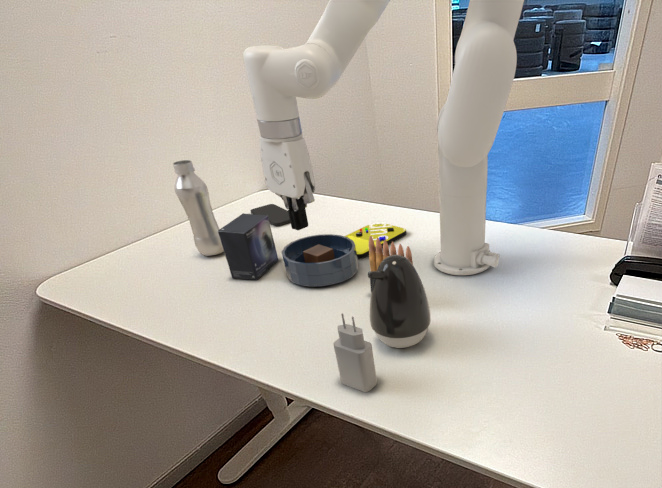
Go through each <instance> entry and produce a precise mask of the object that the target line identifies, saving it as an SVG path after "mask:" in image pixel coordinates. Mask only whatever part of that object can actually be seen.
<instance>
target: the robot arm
mask: <svg viewBox="0 0 662 488" xmlns="http://www.w3.org/2000/svg"><path fill="white" fill-rule="evenodd" d="M390 2H391V0H328V2H327V4H326V6H325V9H324V11H323V13H322V14H321V17H320V18H319V20H318V22H317V24H316V25H315V27H314V29H313V31H312V32H311V34H310V36H309V38H308V39H307V41H306V43H303V44H301V45H298V46H293V47H289V48H284V47H283V46H280V45H273V44H272V45H271V44H270V45H269V44H267V45H266V44H263V45H253V46H248V47H247V48H245V49H244V51H243V54H242V57H243V58H242V59H243V64H244V68H245V73H246V77H247V83H248V86H249V90H250V96H251V99H252V104H253V108H254V112H255V116H256V122H257V126H258V130H259V134H260V135H259V153H260V160H261V161H260V162H261V166H262V172H263V178H264V181H265V186H266V188H267V190H268V191H269V192H271V193H273V194H275V195H276V196H278V198H281V199H282V201H283V204H284V207H285V210H287V211H288V213H289V218H290V222H289V223H290V227H291V229H292V230H295V231H300V230H303V229H306V228H308V227H309V221H308V215H307V209H306V208H307V207H308V204H311V203H314V202H315V200H316V199H315V196H314V193H316V181H315V175H314V170H313V166H312V161H311V156H310V153H309V150H308V147H307V143H306V140H305V138H304V135H303V129H302V124H301V123H302V122H301V118H300V112H299V107H298V101H297V98H302V99H309V100H316V99H320V98H322V97H324V96H325V95H326V94H327V93H329V92H330V91H331V90H332V88H333V87H335V85H336V84H337V83H338V81H339V80H340V78H341V77H342V76H343V73H344V72H345V71H346V69H347V67H348V65H349V64H350V63H351V61H352V59H353V58H354V56H355V55H356V53H357V51H358V50H359V48H360V46H361V45H362V44H363V41H364V40H365V39H366V37H367V36H368V33H370V31H371V30H372V28H374V26H375V25H376V24H377V23H378V21H379V20H380V18H381V16H382V14H383V13H384V11H385V10H386V8H387V6H388V5H389V4H390ZM524 2H525V0H469V3H468V6H467V11H466V14H465V18H464V23H463V26H462V29H461V33H460V37H459V39H458V41H457V43H456V47H455V52H454V62H455V63H454V66H453V67H454V68H453V71H452V76H451V81H450V85H449V88H448V93H447V98H446V101H445V102H444V104H443V105H442V107H441V108H440V110H439V113H438V116H437V122H436V137H437V159H438V195H439V196H438V198H439V199H438V202H439V235H440V236H439V237H440V238H439V239H440V251H439V252H437V254H435V256H434V257H433V265H434V267H435V268H436V269H437V270H438V271H440V272H442V273H445V274H446V275H447V274H448V275H452V276H472V275H477V274H481V273H482V272H484V271H486V270H487V269H489V268H490V267H492V268H497V267H498V266H499V262H500V254H499V253H497V252H493V251H492V252H491V250H490V243H488V242H486V222H487V221H486V219H487V191H488V174H489V173H488V169H489V168H488V167H489V165H488V164H489V162H488V161H489V159H488V158H489V156H488V155H489V153H490V152H491V149H492V148H493V145H494V143H495V140H496V137H497V134H498V130H499V128H500V125H501V122H502V120H503V119H502V118H503V115H504V113H505V109H506V106H507V103H508V100H509V97H510V93H511V90H512V86H513V83H514V79H515V75H516V70H517V65H518V63H517V61H518V55H517V48H516V44H515V41H514V39H515V35H516V32H517V29H518V24H519V23H520V22H519V21H520V19H521V14H522V11H523V6H524Z"/></svg>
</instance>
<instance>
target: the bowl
mask: <svg viewBox="0 0 662 488" xmlns="http://www.w3.org/2000/svg"><path fill="white" fill-rule="evenodd" d="M345 236H346V235H342V234H332V233H323V234H314V235H313V234H312V235H308V236H304V237H300V238H298V239H296V240H294V241H291V242H289V243H288V244H286V246H284V247H283V249H282V250H281V256H282V260H283V264H284V265H283V266H284V268H285V272H286V276H287V279H288V280H289V281H290V282H291V283H293V284H296V285H298V286H304V287H312V288H313V287H326V286H327V287H328V286H333V285H336V284H339V283H342V282H345V281H347V280H348V279H351V278H353V276H355V274H356V273H358V270H359V267H360V265H359V260H358V259H357V252H356V245H355V243H354V241H353V240H351V239H350V238H348V237H345ZM318 244H319V245H322V246H326V247H329V248H332V249H333V251H334V257H335V259H334V260H330V261H325V262H319V263H305V259H304V254H303V251H305V250H307V249H310V248H312V247H314V246H316V245H318Z"/></svg>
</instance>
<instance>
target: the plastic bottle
mask: <svg viewBox="0 0 662 488" xmlns="http://www.w3.org/2000/svg"><path fill="white" fill-rule="evenodd" d="M172 166H173V168H174V173H175V174H176V175H177V177H176V180H175V183H174V192H175V195H176V197H177V198H178V200H179V202H180V204H181V206H182V208H183V210H184V212H185V215H186V216H187V219H188V221H189V225H190V228H191V231H192V235H193V242H194V246H195V247H196V250H197V251H198V252H199V253H200V254H201V255H203V256H209V257H210V256H217V255H219V254H222V253H224V250H223V247H222V243H221V240H220V237H219V234H218V230H219V229H220V227H219V225H218V223H217V220H216V218H215V214H214V212H213V207H212V203H211V200H210V194H209V189H208V185H207V184H206V183H205V181H204V180H203V179H202V178H201V177H199V175H198V174H196V173H195V171H196V169H195V167H194V165H193V162H192V160H191V159H190V160H189V159H184V160H182V159H181V160H178V161H174V162H173V163H172Z"/></svg>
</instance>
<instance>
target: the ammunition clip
mask: <svg viewBox="0 0 662 488" xmlns="http://www.w3.org/2000/svg"><path fill="white" fill-rule="evenodd" d="M391 255H401V256H404V257H406V258H407V259H408V260H409V261H410V262H411V263H412V265H413V266H414V261H413V253H412V250H411V247H410V246H409V245H407V247H406V249H405V252H404V248H403V245H402V244H401V243H399V245H398V248H396V245H395V242H392V243H391V244H390V247H389V245H388V244H387V241H386V240H384V243H383V248H382V246H381V242H380V240H379V238H377V240H376V250H375V244H374V241H373V238H372V236H370V237H369V256H368V262H369V270H370V271H377V269H378V267H379V265H380V263H381V262H382V261H383V260H384V259H385V258H386V257H388V256H391ZM373 282H374V279H370V278H369V285H370V292H371V291H372V286H373Z"/></svg>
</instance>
